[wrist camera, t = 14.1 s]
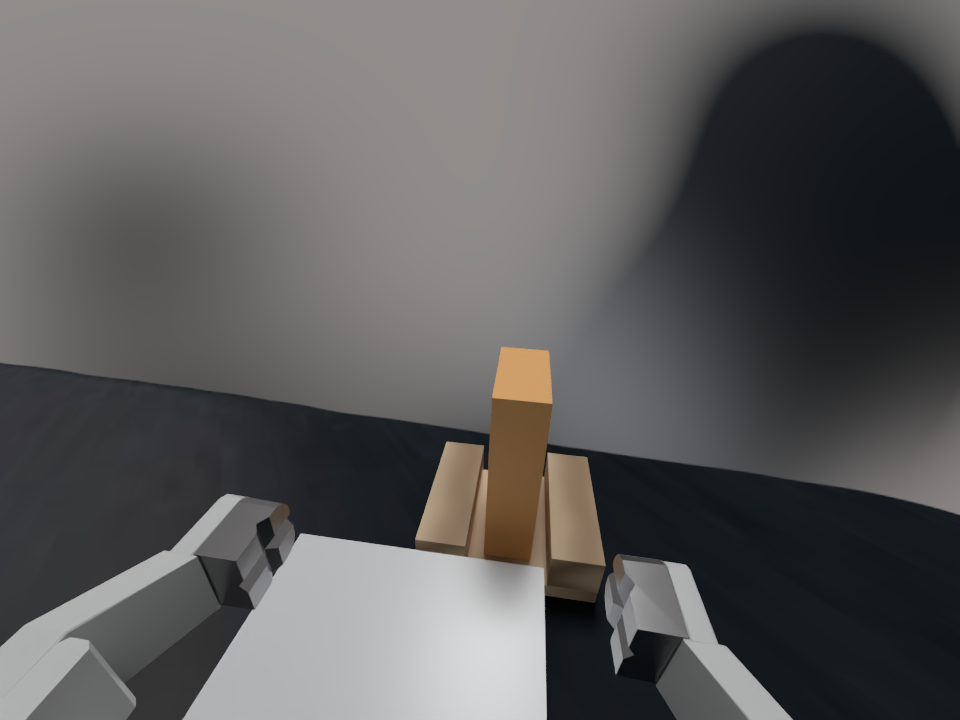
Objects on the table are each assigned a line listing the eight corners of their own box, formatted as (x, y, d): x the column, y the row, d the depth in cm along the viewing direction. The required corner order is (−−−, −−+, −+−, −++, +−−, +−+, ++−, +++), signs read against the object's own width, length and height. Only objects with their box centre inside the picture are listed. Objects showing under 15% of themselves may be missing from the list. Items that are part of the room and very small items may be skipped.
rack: (417, 576, 24) (415, 539, 23) (447, 474, 32) (446, 441, 31) (595, 602, 23) (605, 565, 22) (580, 490, 31) (587, 457, 29)
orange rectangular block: (483, 554, 25) (492, 398, 19) (492, 484, 30) (501, 346, 24) (530, 560, 24) (552, 403, 19) (531, 489, 30) (548, 350, 24)
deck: (183, 815, 15) (145, 777, 13) (312, 576, 24) (300, 533, 22) (536, 897, 14) (549, 866, 12) (536, 610, 23) (543, 568, 21)
